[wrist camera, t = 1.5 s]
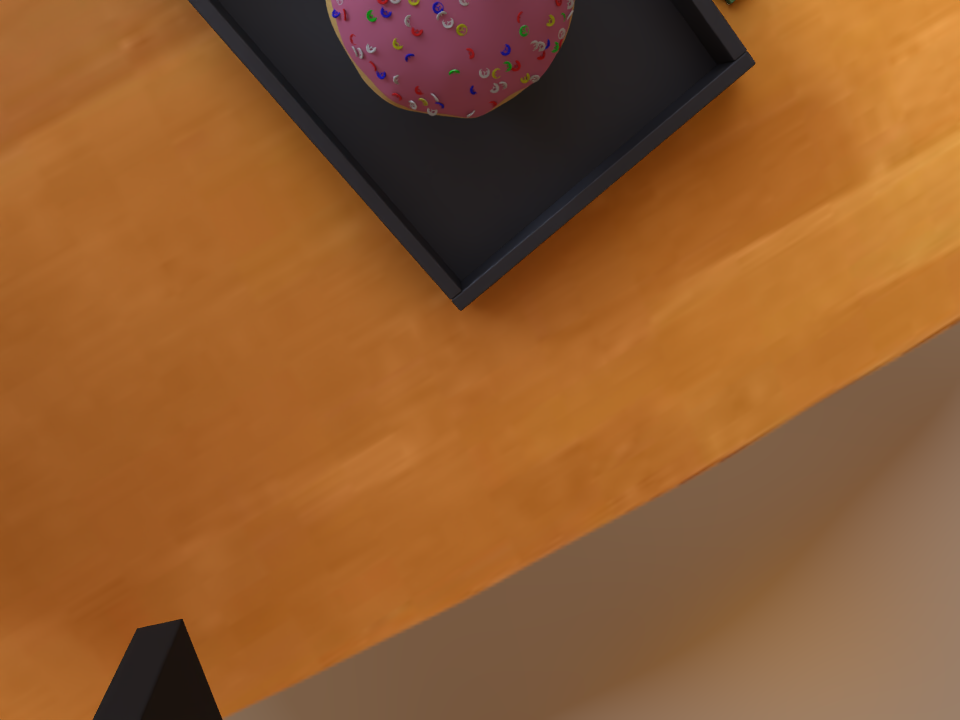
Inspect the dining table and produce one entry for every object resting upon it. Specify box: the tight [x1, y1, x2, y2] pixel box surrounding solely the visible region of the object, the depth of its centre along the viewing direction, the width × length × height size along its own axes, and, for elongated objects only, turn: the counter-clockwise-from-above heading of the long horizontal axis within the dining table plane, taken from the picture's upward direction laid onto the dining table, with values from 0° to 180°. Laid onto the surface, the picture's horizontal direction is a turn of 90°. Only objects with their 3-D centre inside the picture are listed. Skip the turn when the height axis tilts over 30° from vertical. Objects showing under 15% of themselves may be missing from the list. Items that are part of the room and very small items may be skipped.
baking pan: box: [188, 0, 755, 311], centre depth 32 cm, size 18×15×2 cm
